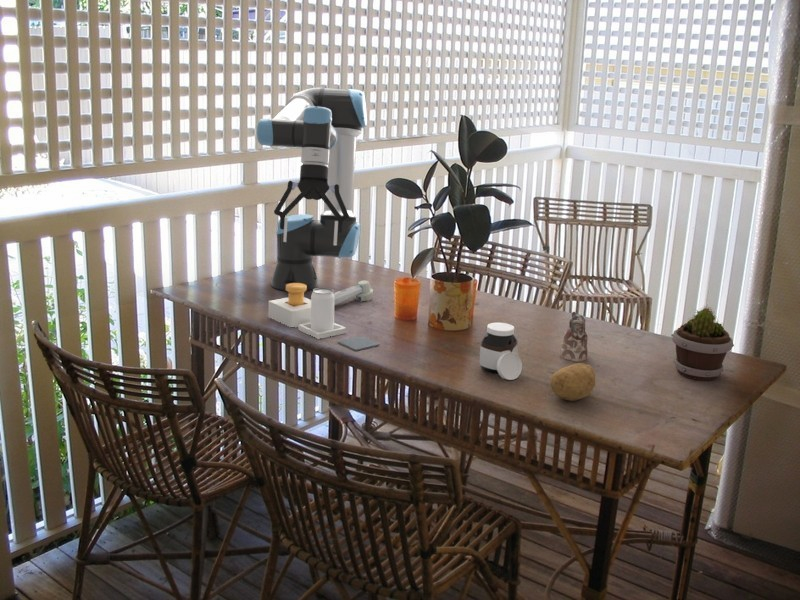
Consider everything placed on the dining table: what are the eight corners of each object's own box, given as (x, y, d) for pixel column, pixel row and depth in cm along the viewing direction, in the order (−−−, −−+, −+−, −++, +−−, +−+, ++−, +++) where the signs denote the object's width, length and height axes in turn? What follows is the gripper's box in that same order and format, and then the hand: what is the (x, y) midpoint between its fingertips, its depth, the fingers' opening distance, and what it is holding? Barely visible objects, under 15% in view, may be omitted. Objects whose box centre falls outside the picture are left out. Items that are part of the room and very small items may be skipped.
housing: (299, 311, 264) (299, 295, 263) (348, 332, 247) (348, 315, 246) (268, 317, 257) (268, 300, 256) (316, 339, 240) (316, 322, 239)
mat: (361, 337, 244) (361, 335, 244) (379, 345, 238) (379, 344, 238) (337, 342, 239) (337, 341, 239) (356, 351, 233) (356, 349, 233)
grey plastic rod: (306, 299, 264) (363, 274, 281) (308, 319, 266) (365, 294, 283) (318, 303, 260) (375, 278, 277) (320, 324, 263) (377, 297, 280)
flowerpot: (674, 359, 238) (684, 288, 232) (733, 372, 230) (745, 299, 225) (660, 375, 226) (670, 301, 220) (721, 389, 218) (734, 312, 213)
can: (307, 333, 245) (307, 292, 242) (315, 326, 251) (316, 286, 248) (329, 336, 244) (329, 294, 240) (336, 329, 250) (337, 288, 246)
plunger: (298, 306, 260) (298, 281, 258) (310, 312, 256) (310, 286, 254) (281, 310, 256) (281, 284, 254) (293, 315, 252) (293, 289, 250)
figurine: (564, 361, 233) (569, 318, 229) (556, 352, 239) (560, 310, 236) (590, 361, 234) (595, 318, 230) (581, 351, 241) (585, 309, 237)
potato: (603, 394, 212) (607, 363, 210) (578, 412, 201) (581, 379, 199) (566, 384, 217) (570, 353, 215) (540, 400, 206) (543, 369, 204)
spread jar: (493, 361, 231) (497, 318, 227) (532, 371, 225) (536, 328, 221) (470, 373, 221) (473, 329, 218) (510, 385, 215) (514, 340, 212)
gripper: (267, 159, 233) (263, 239, 233) (361, 167, 236) (356, 246, 236) (268, 163, 240) (263, 240, 241) (359, 170, 243) (354, 246, 244)
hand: (310, 243), depth 238 cm, fingers open, 13 cm apart
